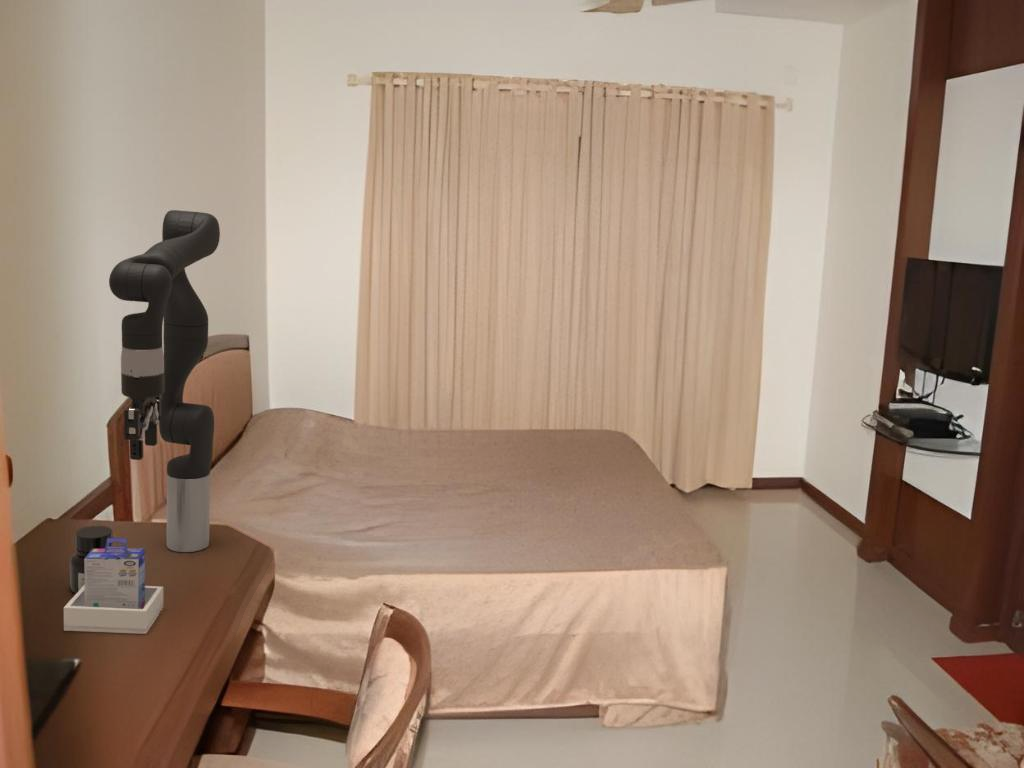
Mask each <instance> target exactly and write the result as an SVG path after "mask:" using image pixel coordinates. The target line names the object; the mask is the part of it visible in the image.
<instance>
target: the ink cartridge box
mask: <svg viewBox="0 0 1024 768" xmlns="http://www.w3.org/2000/svg"><path fill="white" fill-rule="evenodd" d="M127 540H128V538H124V537H121V538H120V537H117V538H116V537H113V538H107V543H106V547H105V549H92V550H91V551H90V552H89V554H88V555H87V556H86V557H85V559H84V585H85V607H104V608H127V609H143V608H144V607H145V586H146V549H145V548H143V547H141V548H138V547H137V548H133V547H132V548H127V545H128V544H127V542H128V541H127ZM110 543H121V544H122V545H121V546H117V545H114V546H113V545H112V546H109V544H110Z"/></svg>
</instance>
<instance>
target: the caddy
mask: <svg viewBox="0 0 1024 768" xmlns="http://www.w3.org/2000/svg"><path fill="white" fill-rule="evenodd" d="M162 608H163V609H164V586H160V585H159V586H157V585H155V586H154V585H153V586H152V585H145V607H144V608H143V609H127V608H104V607H85V585H84V586H83V587H82V588H81V589H80V590H79V591H78V592H77V593H75V594H74V596H73V597H72V598H70V600H69V601H67V603H66V605H65V606H64V607H63V631H64V632H65V631H66V632H67V631H68V632H70V631H71V632H92V633H115V634H116V633H117V634H118V633H119V634H142V635H143V634H144V635H146V634H147V633H148V632H149V630H150V629H151V627H152V626H153V624H154V622H155V621H156V619H157V618H158V617H159V615H160V614H159V613H161V612H162V611H163V609H162ZM161 610H162V611H161ZM160 611H161V612H160Z"/></svg>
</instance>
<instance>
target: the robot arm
mask: <svg viewBox="0 0 1024 768" xmlns="http://www.w3.org/2000/svg"><path fill="white" fill-rule="evenodd" d="M161 231H162V233H161V234H162V237H161V238H162V241H159V242H157V243H155V244H153V245H152V246H151V247H149V248H148V249H147V250H146V251H145V252H143V254H138V255H134V256H131V257H128V258H126V259H123V260H121V261H120V262H118V263H117V264H116V265H115V266H114V267H113V269H112V270H111V273H110V275H109V277H108V284H109V289H110V291H111V293H112V294H113V295H114V296H115V297H116V298H117V299H119V300H121V301H127V302H139V303H148V306H147V308H146V310H145V311H142V312H135V313H130V314H126V315H125V316H124V317H122V320H121V353H120V354H121V355H120V376H121V377H120V378H121V381H120V385H121V388H120V389H121V395H123V396H124V397H126V398H130V399H131V401H130V402H131V404H130V405H129V408H128V407H125V408H124V413H123V415H124V421H123V422H124V425H123V427H124V429H123V430H124V433H123V436H124V441H129V458H130V460H134V461H135V460H137V461H140V460H143V458H144V444H145V446H149V447H150V446H151V447H155V446H156V445H157V444H158V429H159V434H160V437H161V439H162V440H163V441H164V442H166V443H171V444H177V445H187V446H190V447H189V453H187V454H183V455H179V456H175V457H173V458H172V459H170V460H169V461H168V462H167V465H166V547H167V550H171V551H172V552H178V553H191V552H198V551H202V550H205V549H206V548H207V547H209V546H210V523H211V521H210V519H211V518H210V517H211V516H210V514H211V509H210V508H211V507H210V506H211V466H212V459H213V450H214V449H213V448H214V433H215V416H214V412H213V409H212V408H211V407H210V406H209V405H205V404H198V403H197V404H196V403H190V402H188V403H187V402H184V400H183V399H184V391H185V386H186V381H187V380H188V378H189V376H190V374H191V373H192V371H193V370H194V369H195V368H196V365H198V363H199V361H200V360H201V359H202V357H203V355H204V354H205V352H206V350H207V348H208V343H209V315H208V311H207V310H206V308H205V305H204V304H203V302H202V301H201V298H200V297H199V295H198V294H197V292H196V291H195V290H194V288H193V286H192V284H191V282H190V280H189V278H188V276H187V272H186V268H187V267H190V266H191V265H192V264H195V263H196V262H199V261H200V260H202V259H204V258H207V257H210V256H211V255H213V254H214V253H215V251H216V250H217V248H218V246H219V243H220V237H221V232H220V231H221V229H220V224H219V221H218V219H217V218H216V217H215V215H213V214H211V213H207V212H202V211H201V212H200V211H191V210H177V209H175V210H174V209H172V210H169V211H167V212H166V213H165V215H164V217H163V222H162V230H161ZM134 432H135V433H134Z"/></svg>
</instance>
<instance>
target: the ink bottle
mask: <svg viewBox="0 0 1024 768" xmlns="http://www.w3.org/2000/svg"><path fill="white" fill-rule="evenodd" d="M113 536H114V535H113V530H112V528H111V527H109V526H105V525H91V526H90V525H89V526H86V527H82V528H79V529H77V530H76V531H75V533H74V541H75V542H74V544H75V546H74V547H75V551H76V552H75V553H73V555H71V556H70V560H69V585H70V590H71V591H72V592H73V593H74V594H76V593H77V592H78V591H79V590H80V589H81V588H82V587H83V586H84V559H85V557H86V556H87V555H88V554H89V552H90V551H91V550H92V549H105V547H106V543H107V538H114V537H113ZM113 543H114V542H113ZM113 543H110V544H109V546H113Z"/></svg>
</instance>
